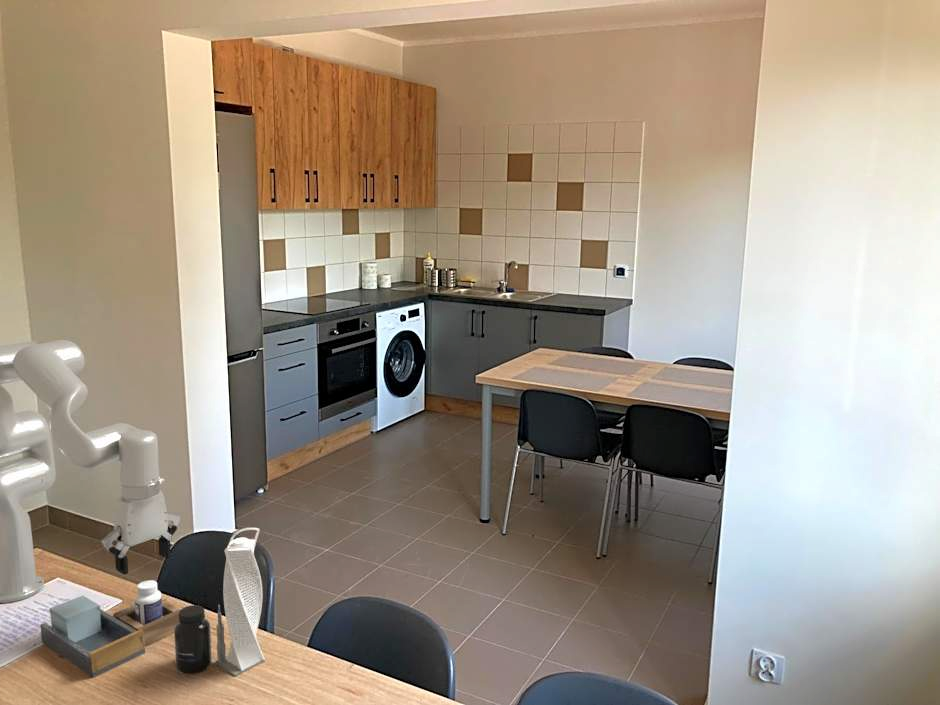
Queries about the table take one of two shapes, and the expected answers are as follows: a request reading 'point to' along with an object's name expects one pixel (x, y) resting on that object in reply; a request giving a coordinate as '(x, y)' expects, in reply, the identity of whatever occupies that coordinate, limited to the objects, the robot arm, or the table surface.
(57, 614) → the pale teal block
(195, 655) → the supplement bottle
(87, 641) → the bay
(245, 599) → the skyscraper
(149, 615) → the pill bottle
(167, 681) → the table surface
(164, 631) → the open wooden box
